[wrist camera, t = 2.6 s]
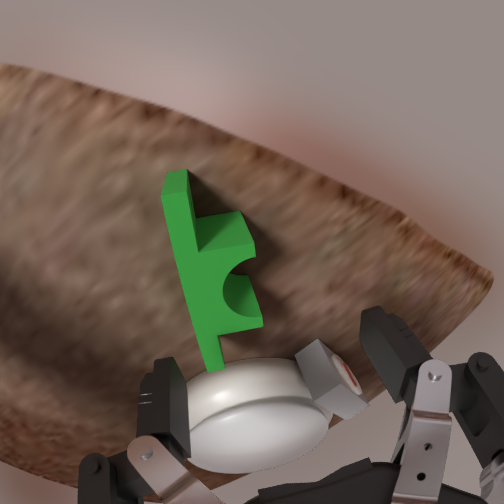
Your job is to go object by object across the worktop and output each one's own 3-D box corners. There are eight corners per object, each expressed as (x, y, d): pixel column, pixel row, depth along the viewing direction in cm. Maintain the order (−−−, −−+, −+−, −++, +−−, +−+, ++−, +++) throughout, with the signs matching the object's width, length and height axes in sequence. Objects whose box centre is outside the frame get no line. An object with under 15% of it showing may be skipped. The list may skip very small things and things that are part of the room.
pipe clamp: (253, 315, 22) (267, 361, 18) (202, 325, 22) (207, 373, 18) (233, 159, 17) (247, 181, 13) (166, 171, 17) (159, 196, 13)
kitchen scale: (241, 453, 32) (248, 487, 28) (139, 412, 25) (137, 456, 21) (368, 379, 29) (388, 414, 25) (291, 306, 22) (314, 355, 18)
